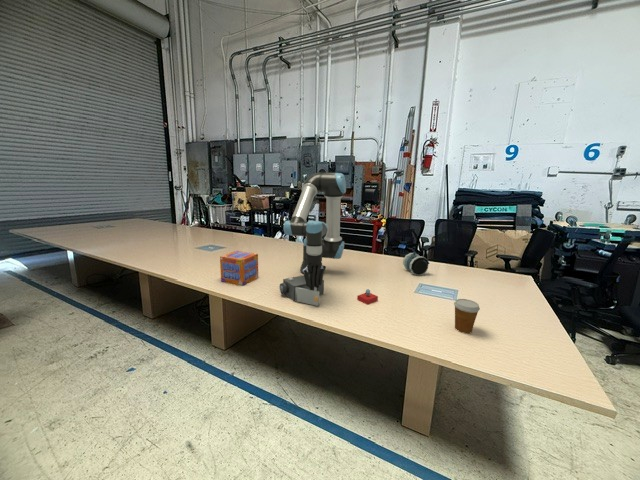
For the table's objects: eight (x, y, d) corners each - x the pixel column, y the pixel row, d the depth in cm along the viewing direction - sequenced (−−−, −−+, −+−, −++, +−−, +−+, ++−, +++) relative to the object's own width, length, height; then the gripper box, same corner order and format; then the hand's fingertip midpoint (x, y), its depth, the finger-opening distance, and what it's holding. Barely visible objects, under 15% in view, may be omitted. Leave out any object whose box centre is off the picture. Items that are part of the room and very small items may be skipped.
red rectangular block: (367, 305, 139) (367, 293, 138) (357, 300, 144) (357, 289, 143) (377, 301, 144) (378, 289, 143) (367, 297, 149) (368, 285, 148)
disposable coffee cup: (446, 324, 122) (449, 298, 119) (467, 323, 123) (471, 298, 120) (458, 335, 113) (462, 308, 110) (481, 335, 114) (485, 308, 111)
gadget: (429, 276, 186) (431, 254, 183) (411, 276, 183) (413, 254, 180) (418, 269, 200) (420, 248, 197) (401, 270, 197) (403, 249, 194)
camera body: (311, 287, 159) (312, 272, 158) (323, 294, 150) (324, 278, 148) (278, 294, 148) (278, 278, 146) (288, 302, 138) (288, 285, 136)
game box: (237, 274, 177) (237, 250, 174) (258, 278, 172) (258, 253, 169) (220, 282, 163) (219, 256, 160) (242, 286, 158) (242, 259, 154)
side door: (319, 305, 135) (319, 291, 134) (317, 306, 134) (317, 292, 132) (296, 300, 140) (296, 286, 139) (294, 301, 139) (294, 288, 137)
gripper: (320, 250, 141) (320, 294, 146) (298, 253, 134) (299, 299, 139) (329, 253, 135) (328, 299, 140) (307, 257, 128) (307, 305, 133)
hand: (314, 299), depth 139 cm, fingers closed
